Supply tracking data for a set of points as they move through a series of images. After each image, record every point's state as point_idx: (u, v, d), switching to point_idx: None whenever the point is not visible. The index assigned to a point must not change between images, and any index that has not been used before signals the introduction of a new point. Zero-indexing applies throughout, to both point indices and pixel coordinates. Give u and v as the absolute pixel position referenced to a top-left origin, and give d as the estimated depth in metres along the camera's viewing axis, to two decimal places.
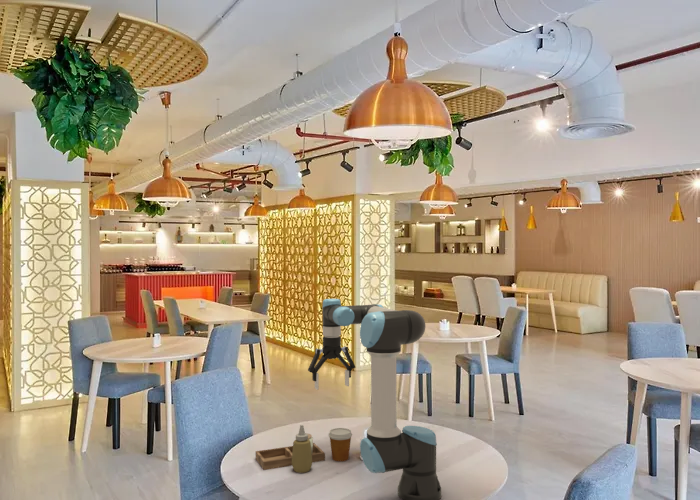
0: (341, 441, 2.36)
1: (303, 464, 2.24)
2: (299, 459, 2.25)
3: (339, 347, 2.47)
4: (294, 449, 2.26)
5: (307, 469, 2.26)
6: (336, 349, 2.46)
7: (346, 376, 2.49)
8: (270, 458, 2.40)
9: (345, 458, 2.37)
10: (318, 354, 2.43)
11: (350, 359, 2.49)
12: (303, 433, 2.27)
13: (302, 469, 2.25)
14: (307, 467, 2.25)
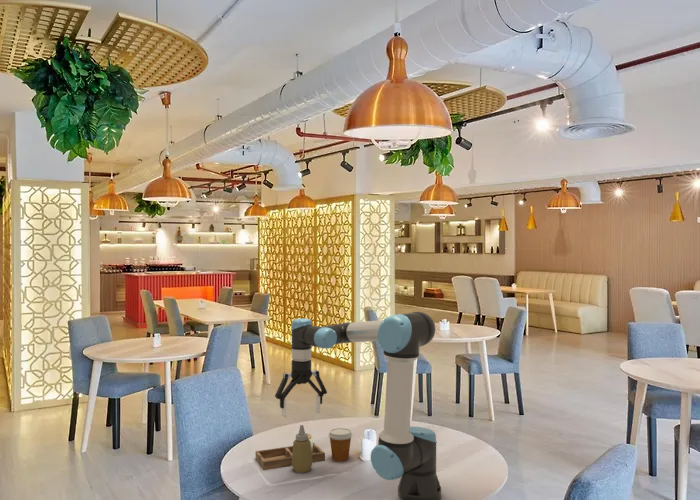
0: (341, 441, 2.36)
1: (303, 464, 2.24)
2: (299, 459, 2.25)
3: (309, 371, 2.28)
4: (294, 449, 2.26)
5: (307, 469, 2.26)
6: (306, 373, 2.28)
7: (317, 402, 2.30)
8: (270, 458, 2.40)
9: (345, 458, 2.37)
10: (286, 379, 2.24)
11: (321, 384, 2.30)
12: (303, 433, 2.27)
13: (302, 469, 2.25)
14: (307, 467, 2.25)
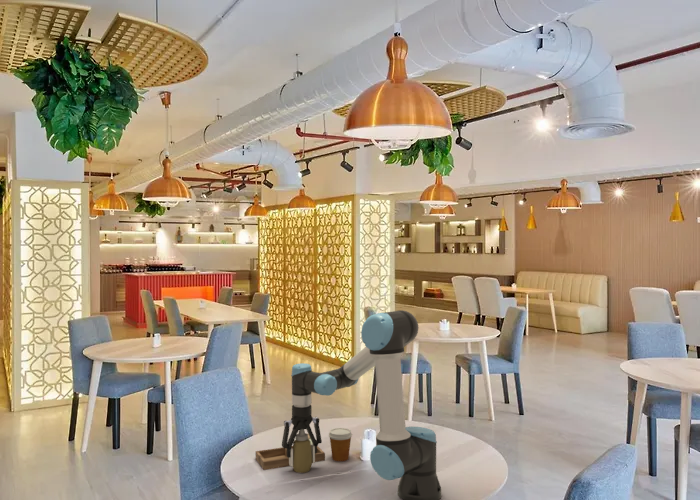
0: (341, 441, 2.36)
1: (303, 464, 2.24)
2: (299, 459, 2.25)
3: (310, 416, 2.28)
4: (294, 449, 2.26)
5: (307, 469, 2.26)
6: (307, 418, 2.28)
7: (312, 452, 2.30)
8: (270, 458, 2.40)
9: (345, 458, 2.37)
10: (288, 427, 2.25)
11: (318, 432, 2.30)
12: (303, 433, 2.27)
13: (302, 469, 2.25)
14: (307, 467, 2.25)
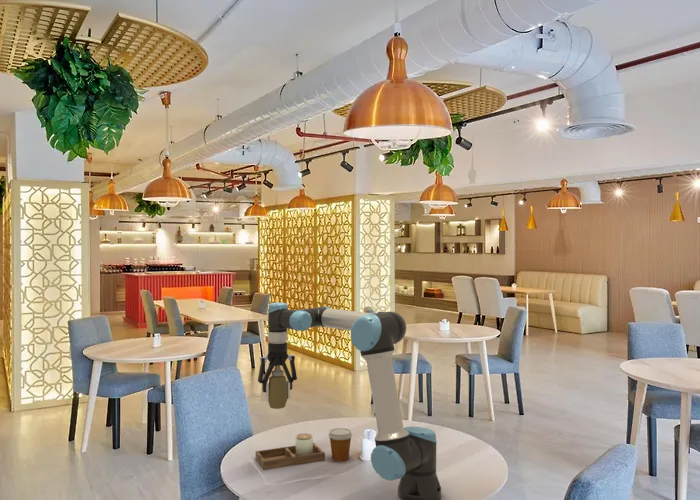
0: (340, 441, 2.36)
1: (278, 399, 2.32)
2: (274, 394, 2.32)
3: (286, 353, 2.36)
4: (270, 384, 2.33)
5: (282, 404, 2.33)
6: (282, 354, 2.35)
7: (287, 388, 2.37)
8: (270, 458, 2.40)
9: (345, 458, 2.37)
10: (263, 363, 2.32)
11: (294, 369, 2.37)
12: (279, 369, 2.35)
13: (277, 403, 2.32)
14: (282, 401, 2.33)
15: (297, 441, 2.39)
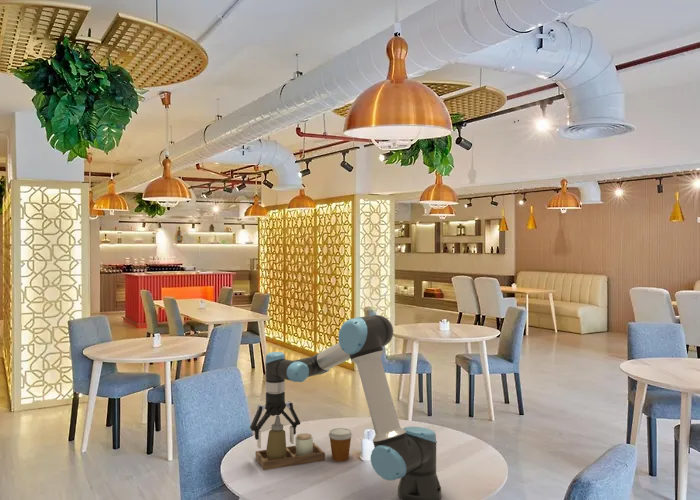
0: (341, 441, 2.36)
1: (277, 453, 2.33)
2: (273, 448, 2.33)
3: (283, 403, 2.36)
4: (269, 438, 2.34)
5: (281, 458, 2.34)
6: (280, 405, 2.36)
7: (291, 433, 2.39)
8: None
9: (345, 458, 2.37)
10: (260, 411, 2.33)
11: (295, 415, 2.38)
12: (279, 423, 2.36)
13: (276, 458, 2.33)
14: (281, 456, 2.34)
15: (297, 441, 2.39)
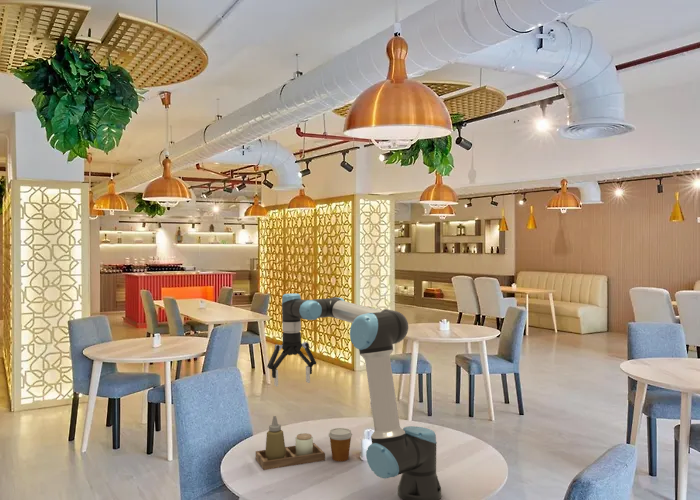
0: (341, 441, 2.36)
1: (276, 454, 2.33)
2: (272, 449, 2.33)
3: (299, 343, 2.42)
4: (267, 440, 2.34)
5: (280, 458, 2.34)
6: (296, 345, 2.41)
7: (307, 372, 2.44)
8: None
9: (345, 458, 2.37)
10: (277, 350, 2.38)
11: (311, 355, 2.44)
12: (276, 424, 2.35)
13: (275, 458, 2.33)
14: (280, 456, 2.34)
15: (297, 441, 2.39)
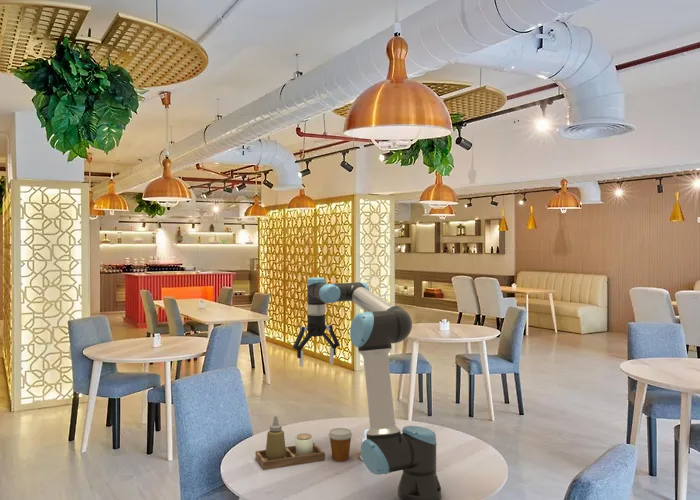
0: (341, 441, 2.36)
1: (276, 454, 2.33)
2: (272, 449, 2.33)
3: (323, 325, 2.50)
4: (268, 439, 2.34)
5: None
6: (320, 327, 2.50)
7: (331, 354, 2.53)
8: None
9: (345, 458, 2.37)
10: (303, 332, 2.47)
11: (334, 337, 2.52)
12: (277, 424, 2.36)
13: (275, 458, 2.33)
14: (280, 457, 2.34)
15: (297, 441, 2.39)
